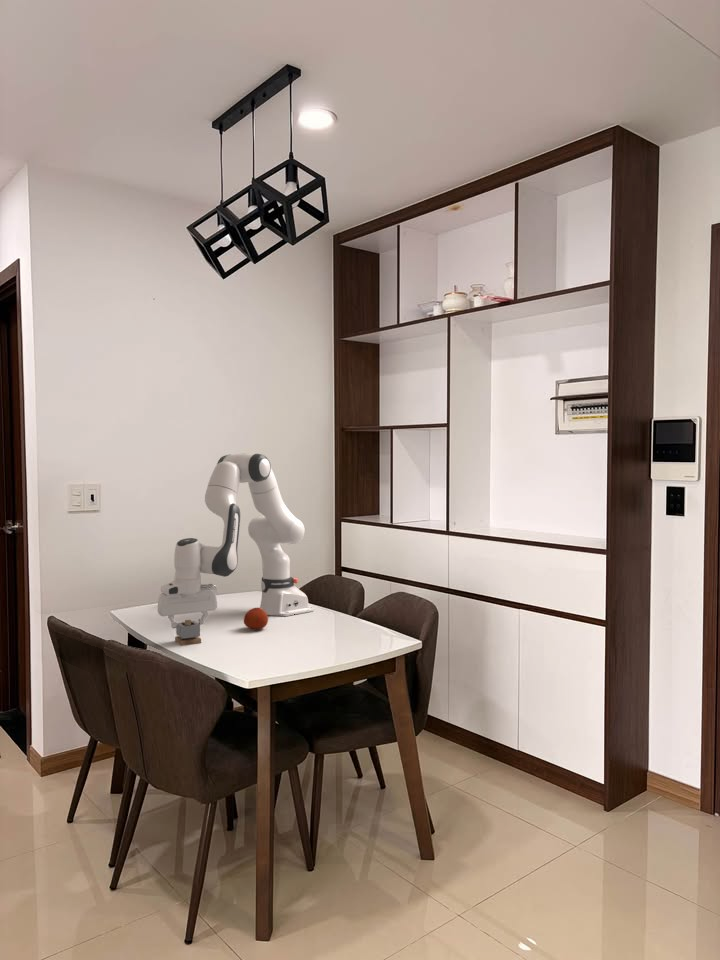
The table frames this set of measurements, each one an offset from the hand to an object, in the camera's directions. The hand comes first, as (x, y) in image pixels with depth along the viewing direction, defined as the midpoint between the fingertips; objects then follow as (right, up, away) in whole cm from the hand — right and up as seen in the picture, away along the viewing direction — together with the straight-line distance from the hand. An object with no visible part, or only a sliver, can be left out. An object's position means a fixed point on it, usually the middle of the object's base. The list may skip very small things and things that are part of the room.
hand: (188, 625), depth 254 cm
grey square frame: (0, -3, 0) cm, 3 cm away
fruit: (+21, -5, +18) cm, 28 cm away
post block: (0, -6, 0) cm, 6 cm away
